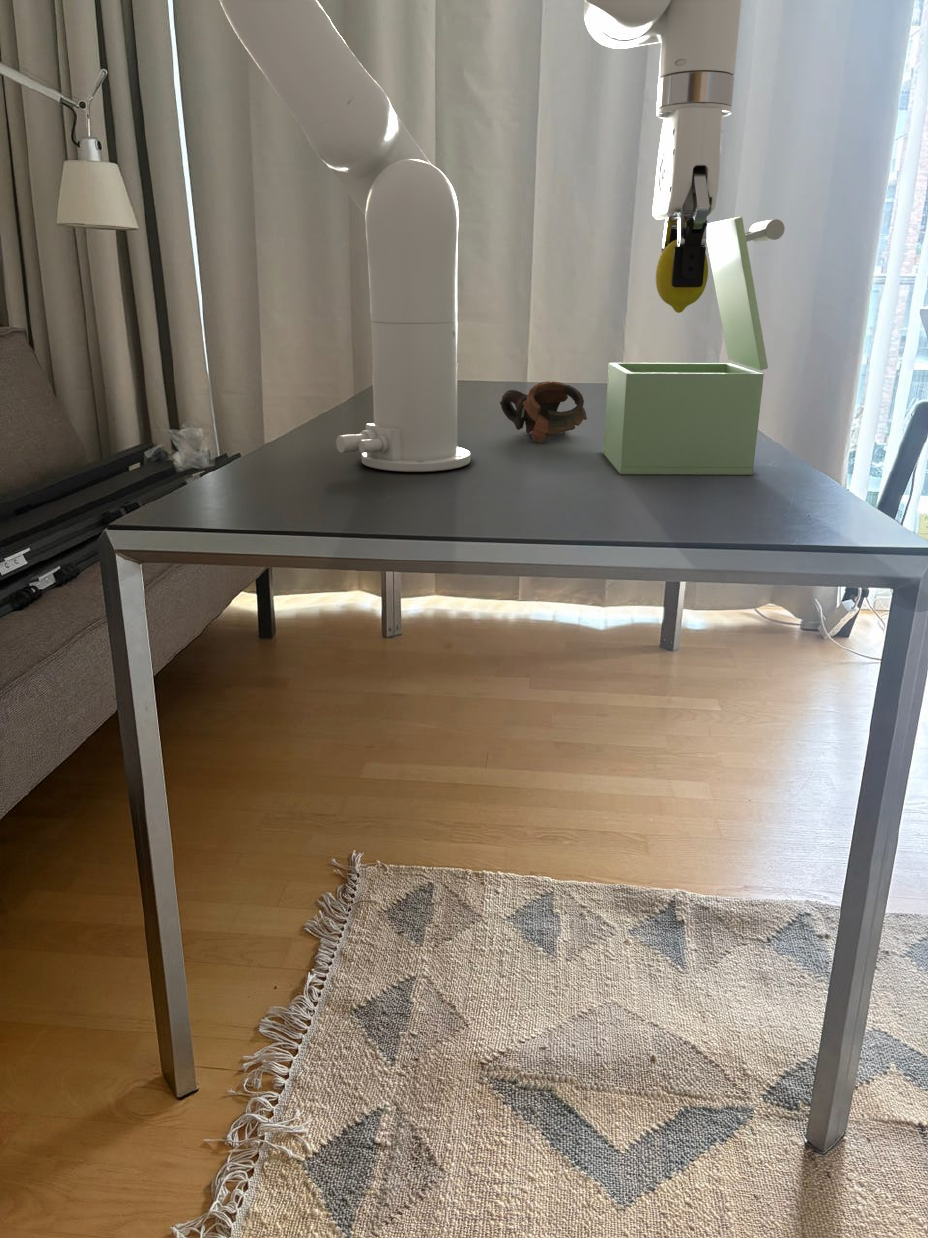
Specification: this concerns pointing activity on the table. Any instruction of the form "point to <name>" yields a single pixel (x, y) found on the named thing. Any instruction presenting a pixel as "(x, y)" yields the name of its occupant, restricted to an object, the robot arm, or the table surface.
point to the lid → (739, 286)
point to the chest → (682, 418)
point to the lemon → (668, 293)
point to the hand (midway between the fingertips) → (680, 284)
